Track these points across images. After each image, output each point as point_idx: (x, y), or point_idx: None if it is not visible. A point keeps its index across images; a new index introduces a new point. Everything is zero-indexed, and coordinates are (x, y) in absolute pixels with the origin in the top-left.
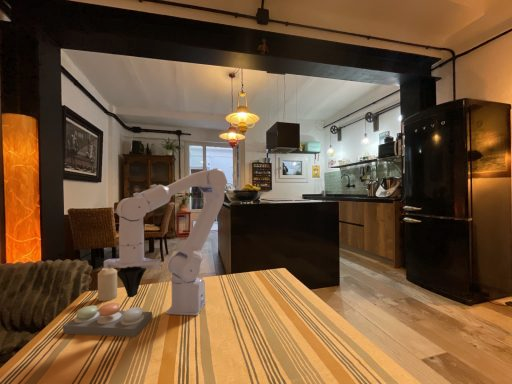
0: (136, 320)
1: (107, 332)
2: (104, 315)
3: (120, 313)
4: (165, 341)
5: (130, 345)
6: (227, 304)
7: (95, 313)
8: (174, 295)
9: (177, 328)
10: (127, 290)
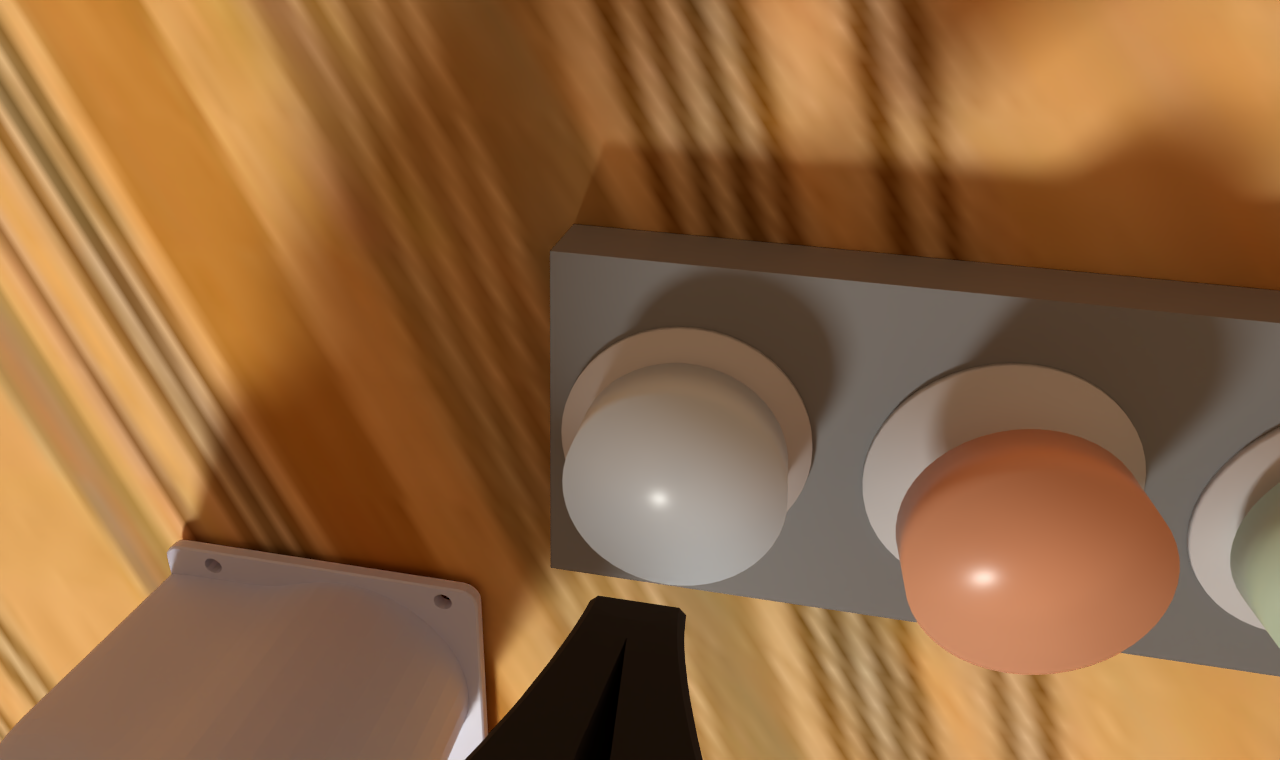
0: None
1: (901, 268)
2: (1033, 434)
3: None
4: (216, 153)
5: (525, 82)
6: (40, 675)
7: (1239, 549)
8: (307, 736)
9: (235, 357)
10: (647, 687)
